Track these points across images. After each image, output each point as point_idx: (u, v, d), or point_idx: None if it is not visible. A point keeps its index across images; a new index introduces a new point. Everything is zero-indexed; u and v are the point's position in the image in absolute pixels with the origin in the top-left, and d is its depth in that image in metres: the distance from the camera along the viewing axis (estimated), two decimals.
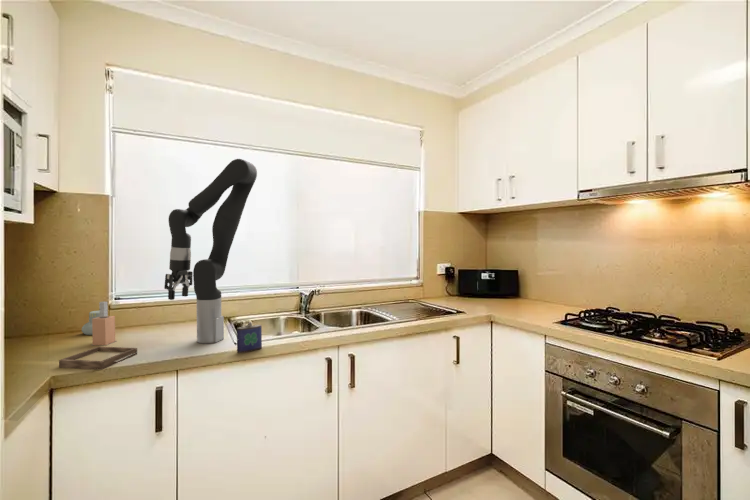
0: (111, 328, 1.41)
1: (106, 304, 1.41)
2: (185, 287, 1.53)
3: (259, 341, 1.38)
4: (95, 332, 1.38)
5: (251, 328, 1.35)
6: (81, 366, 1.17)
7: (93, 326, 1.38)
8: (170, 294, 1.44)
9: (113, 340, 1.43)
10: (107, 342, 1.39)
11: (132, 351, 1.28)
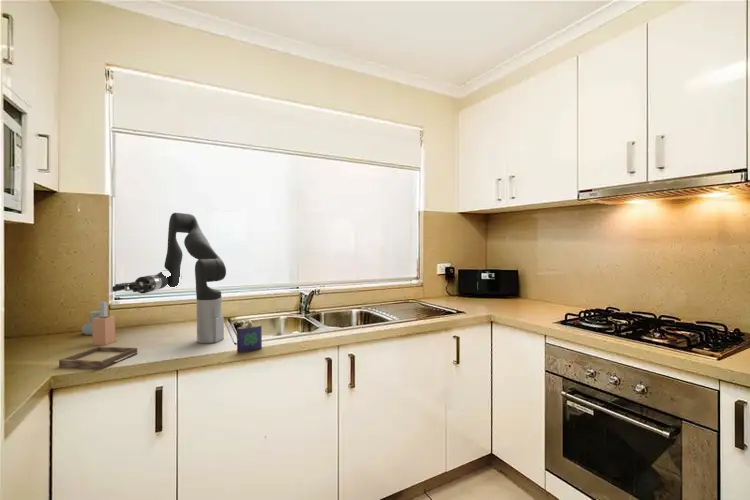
0: (111, 328, 1.41)
1: (106, 304, 1.41)
2: None
3: (259, 341, 1.38)
4: (95, 332, 1.38)
5: (251, 328, 1.35)
6: (81, 366, 1.17)
7: (93, 326, 1.38)
8: None
9: (113, 340, 1.43)
10: (107, 342, 1.39)
11: (132, 351, 1.28)
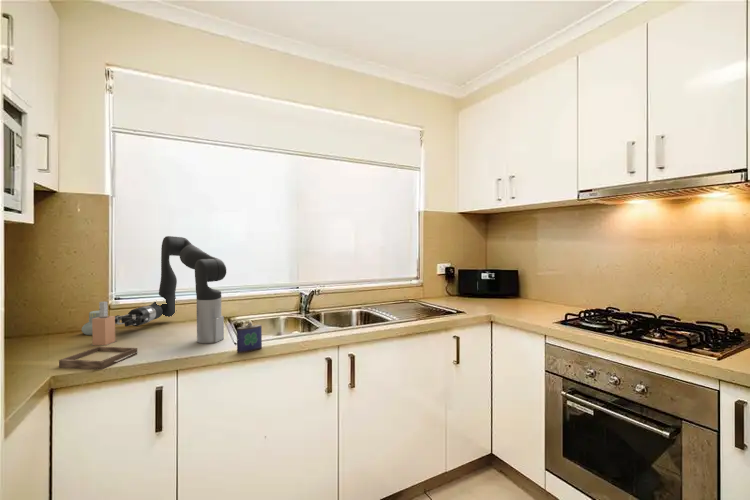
0: (111, 328, 1.41)
1: (106, 304, 1.41)
2: None
3: (259, 341, 1.38)
4: (95, 332, 1.38)
5: (251, 328, 1.35)
6: (81, 366, 1.17)
7: (93, 326, 1.38)
8: None
9: (113, 340, 1.43)
10: (107, 342, 1.39)
11: (132, 351, 1.28)
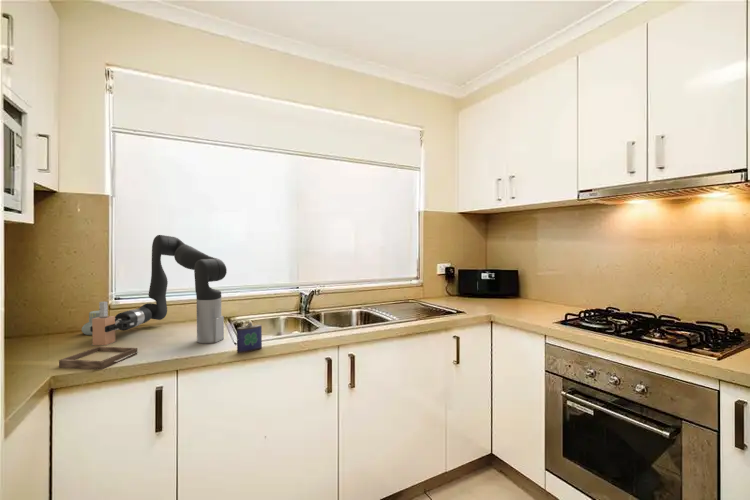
0: None
1: (106, 304, 1.41)
2: None
3: (259, 341, 1.38)
4: (95, 332, 1.38)
5: (251, 328, 1.35)
6: (81, 366, 1.17)
7: (93, 326, 1.38)
8: None
9: (113, 340, 1.43)
10: (107, 342, 1.39)
11: (132, 351, 1.28)
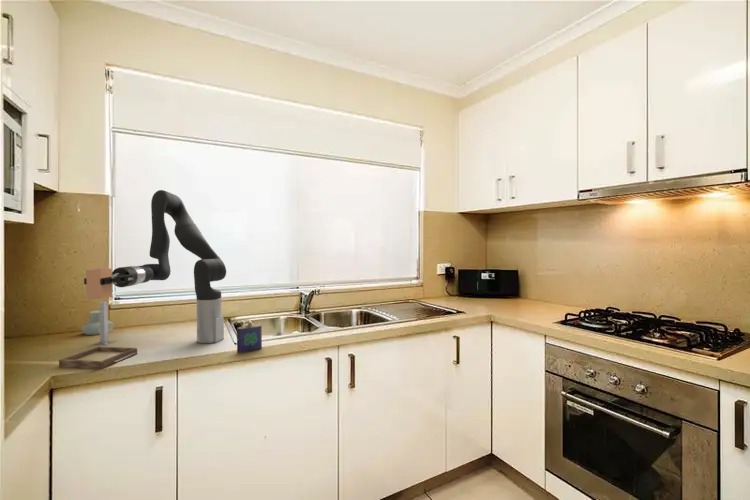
0: None
1: (106, 304, 1.41)
2: None
3: (259, 341, 1.38)
4: (89, 284, 1.23)
5: (251, 328, 1.35)
6: (81, 366, 1.17)
7: (87, 278, 1.23)
8: None
9: (110, 295, 1.27)
10: (103, 296, 1.24)
11: (132, 351, 1.28)
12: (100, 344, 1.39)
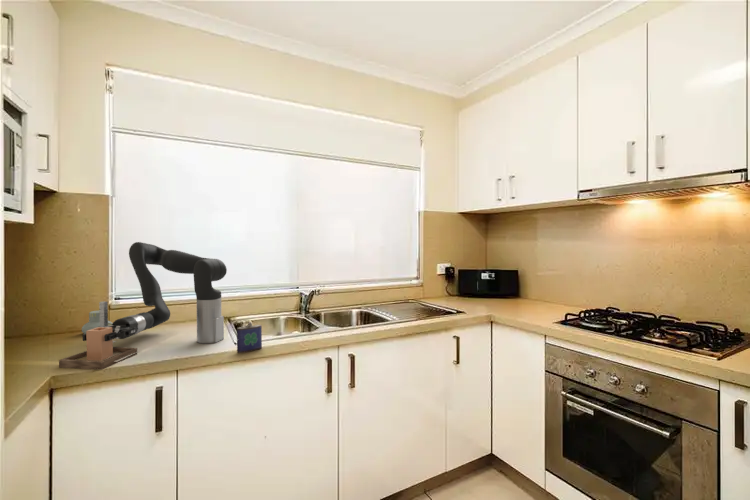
0: (107, 342, 1.24)
1: (106, 304, 1.41)
2: None
3: (259, 341, 1.38)
4: (89, 346, 1.21)
5: (251, 328, 1.35)
6: (81, 366, 1.17)
7: (88, 339, 1.21)
8: None
9: (110, 354, 1.26)
10: (103, 357, 1.22)
11: (132, 351, 1.28)
12: None
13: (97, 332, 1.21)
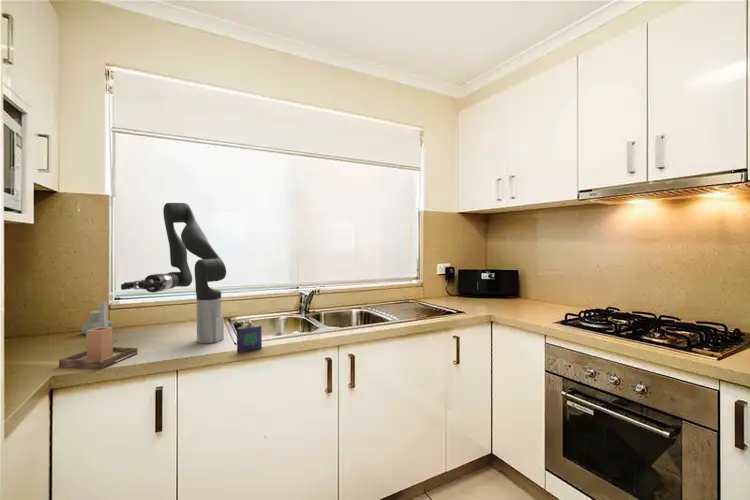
0: (107, 342, 1.24)
1: (106, 304, 1.41)
2: None
3: (259, 341, 1.38)
4: (89, 346, 1.21)
5: (251, 328, 1.35)
6: (81, 366, 1.17)
7: (88, 339, 1.21)
8: None
9: (110, 354, 1.26)
10: (103, 357, 1.22)
11: (132, 351, 1.28)
12: None
13: (97, 332, 1.21)
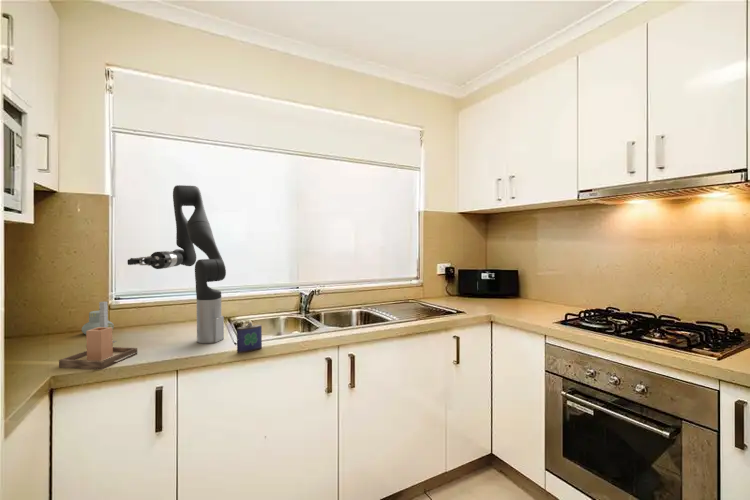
0: (107, 342, 1.24)
1: (106, 304, 1.41)
2: None
3: (259, 341, 1.38)
4: (89, 346, 1.21)
5: (251, 328, 1.35)
6: (81, 366, 1.17)
7: (88, 339, 1.21)
8: None
9: (110, 354, 1.26)
10: (103, 357, 1.22)
11: (132, 351, 1.28)
12: None
13: (97, 332, 1.21)
